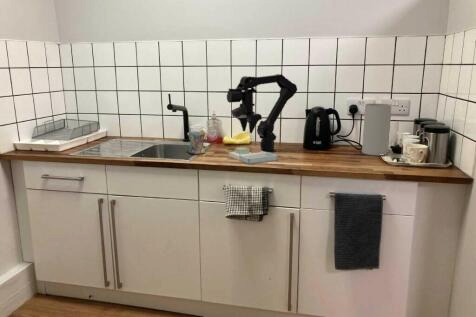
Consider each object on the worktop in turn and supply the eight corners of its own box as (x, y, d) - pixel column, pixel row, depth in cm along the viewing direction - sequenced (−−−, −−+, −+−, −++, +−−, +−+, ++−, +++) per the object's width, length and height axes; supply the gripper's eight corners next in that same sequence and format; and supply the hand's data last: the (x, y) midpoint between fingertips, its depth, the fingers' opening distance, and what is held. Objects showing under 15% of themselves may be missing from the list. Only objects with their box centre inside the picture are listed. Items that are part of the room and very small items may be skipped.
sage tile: (244, 151, 201) (244, 146, 201) (248, 153, 197) (248, 148, 197) (235, 152, 199) (235, 147, 199) (240, 154, 195) (240, 149, 194)
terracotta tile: (256, 150, 205) (256, 145, 204) (261, 152, 200) (261, 147, 200) (247, 151, 202) (247, 146, 202) (252, 153, 198) (252, 148, 198)
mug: (191, 150, 213) (190, 131, 211) (208, 151, 212) (207, 131, 209) (183, 155, 202) (183, 135, 200) (201, 156, 200) (200, 135, 198)
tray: (267, 156, 199) (267, 151, 199) (277, 160, 191) (277, 155, 191) (239, 160, 192) (239, 155, 191) (248, 164, 184) (248, 159, 184)
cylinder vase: (376, 157, 198) (380, 106, 192) (356, 152, 208) (359, 104, 202) (392, 154, 204) (396, 105, 198) (372, 149, 214) (376, 103, 209)
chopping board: (256, 152, 209) (256, 148, 208) (267, 156, 199) (267, 152, 199) (229, 155, 201) (229, 152, 201) (239, 160, 192) (239, 156, 191)
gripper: (224, 101, 206) (225, 130, 210) (242, 104, 190) (242, 136, 194) (243, 100, 211) (243, 129, 215) (262, 102, 195) (262, 134, 199)
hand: (247, 132), depth 205 cm, fingers open, 7 cm apart
